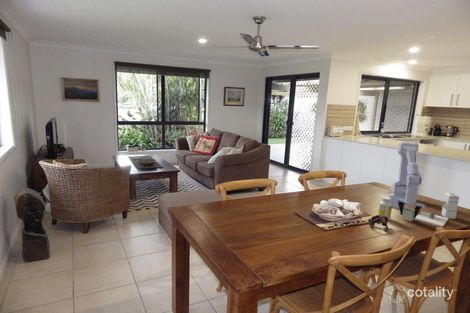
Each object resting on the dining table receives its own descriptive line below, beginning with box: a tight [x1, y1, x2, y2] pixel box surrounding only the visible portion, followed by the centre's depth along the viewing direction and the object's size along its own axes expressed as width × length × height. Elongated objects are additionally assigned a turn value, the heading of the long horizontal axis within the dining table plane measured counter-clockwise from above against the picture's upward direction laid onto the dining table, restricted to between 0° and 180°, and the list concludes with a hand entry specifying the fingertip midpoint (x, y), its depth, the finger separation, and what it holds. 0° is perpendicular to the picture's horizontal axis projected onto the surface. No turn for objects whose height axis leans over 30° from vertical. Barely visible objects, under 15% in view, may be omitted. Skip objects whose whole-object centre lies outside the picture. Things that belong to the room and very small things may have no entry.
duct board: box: [414, 210, 449, 228], centre depth 171 cm, size 14×16×4 cm
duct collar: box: [401, 207, 415, 222], centre depth 171 cm, size 5×5×6 cm
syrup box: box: [440, 192, 460, 220], centre depth 176 cm, size 6×6×14 cm
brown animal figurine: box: [367, 214, 389, 233], centre depth 158 cm, size 12×10×8 cm
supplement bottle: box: [377, 196, 393, 221], centre depth 170 cm, size 7×7×13 cm
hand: (407, 216), depth 171 cm, fingers open, 6 cm apart
